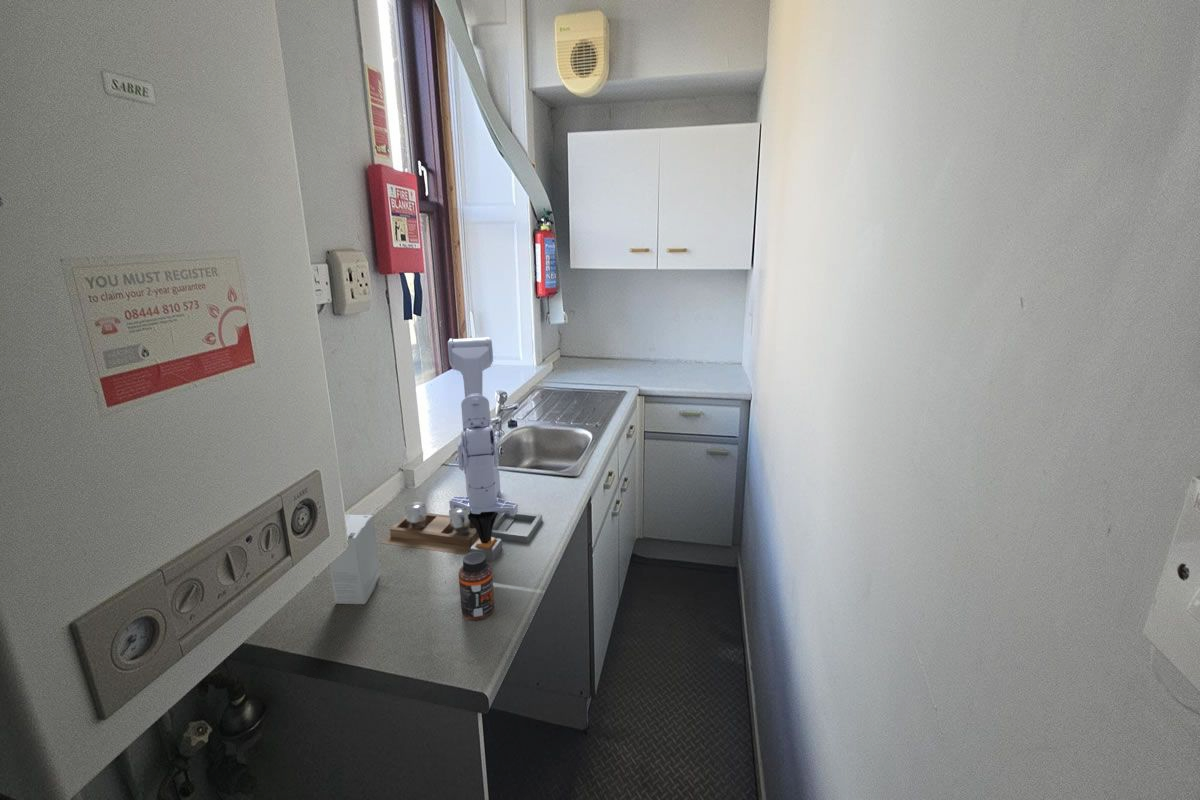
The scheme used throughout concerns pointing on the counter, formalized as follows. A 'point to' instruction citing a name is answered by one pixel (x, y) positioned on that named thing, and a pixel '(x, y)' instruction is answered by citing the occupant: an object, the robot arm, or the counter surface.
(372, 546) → the skincare box
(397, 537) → the wooden compartment tray
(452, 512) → the billet
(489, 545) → the button
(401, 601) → the counter surface
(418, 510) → the cylinder
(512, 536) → the shallow grey tray
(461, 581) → the supplement bottle
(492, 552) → the button housing
